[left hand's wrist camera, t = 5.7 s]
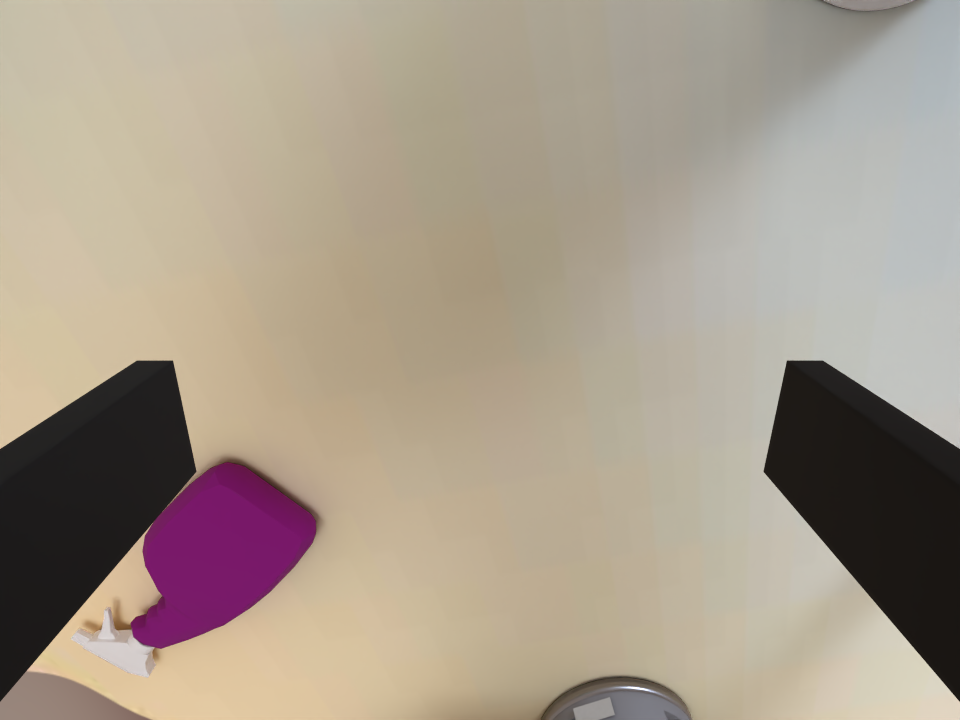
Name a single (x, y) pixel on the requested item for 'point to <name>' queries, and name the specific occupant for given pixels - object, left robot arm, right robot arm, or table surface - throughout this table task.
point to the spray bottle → (208, 563)
